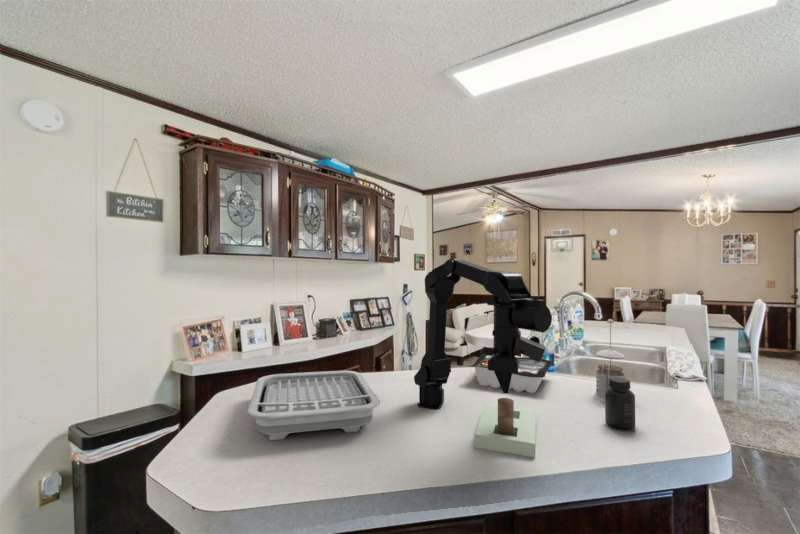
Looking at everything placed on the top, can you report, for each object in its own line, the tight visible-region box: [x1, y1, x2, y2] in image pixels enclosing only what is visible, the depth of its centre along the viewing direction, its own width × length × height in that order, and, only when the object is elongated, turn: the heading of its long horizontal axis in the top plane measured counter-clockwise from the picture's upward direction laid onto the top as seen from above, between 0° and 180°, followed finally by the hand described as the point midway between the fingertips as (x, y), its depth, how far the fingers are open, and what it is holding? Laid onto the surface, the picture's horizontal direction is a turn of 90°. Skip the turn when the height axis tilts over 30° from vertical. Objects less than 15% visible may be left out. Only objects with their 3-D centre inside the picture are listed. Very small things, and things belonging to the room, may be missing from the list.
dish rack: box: [246, 370, 381, 441], centre depth 104 cm, size 32×37×8 cm
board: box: [473, 404, 537, 458], centre depth 93 cm, size 20×13×3 cm, turn 160°
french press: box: [592, 318, 626, 403], centre depth 119 cm, size 10×12×25 cm
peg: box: [497, 397, 515, 436], centre depth 88 cm, size 4×4×10 cm
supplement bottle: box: [604, 378, 636, 432], centre depth 99 cm, size 7×7×12 cm
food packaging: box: [469, 353, 553, 394], centre depth 136 cm, size 25×8×23 cm
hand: (505, 393), depth 88 cm, fingers closed
